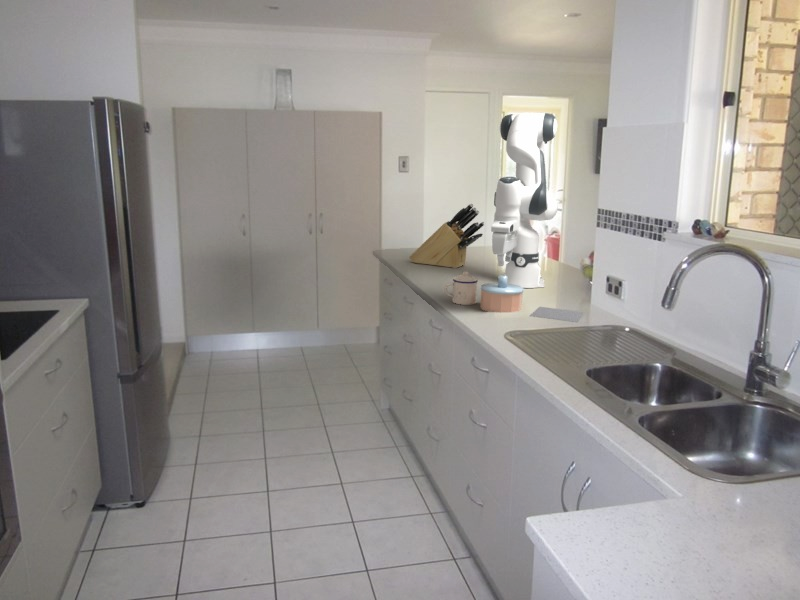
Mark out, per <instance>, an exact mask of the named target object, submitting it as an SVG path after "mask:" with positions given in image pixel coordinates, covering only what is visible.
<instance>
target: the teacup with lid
mask: <svg viewBox="0 0 800 600" xmlns="http://www.w3.org/2000/svg"><path fill="white" fill-rule="evenodd" d="M452 281H453V282H448V283H447V284H446V285H445V286H444V291H445V294H446V295H447V296H449V297H452V303H453V302H454V304H455V303H456V305H460V304H461V305H460V306H462V305H463V306H471V305H475V304H476V303H477V285H478V279H477V278H476V277H474V276H472V275H471V274H469V271H465V270H464V271H462V273H461V274H459V275H458V276H454V277H453V278H452ZM450 286H452V287H453V288H452V294H450V293H449V292H448V287H450Z"/></svg>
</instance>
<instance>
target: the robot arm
mask: <svg viewBox="0 0 800 600" xmlns="http://www.w3.org/2000/svg"><path fill="white" fill-rule="evenodd" d="M557 131H558V122H557V119H556V116H555V115H554V114H552V113H547V112H545V113H542V112H541V113H538V112H520V113H517V114H515V113H514V114H513V113H512V114H511V113H510V114H507V115H505V116H504V117H502V119H501V122H500V125H499V133H500V137H501V138H502V139H503V141H505V145H506V146H505V150H506V154H507V156H508V157H509V159H511V160H512V161H513V162H515V163H516V164H515V176H503V177H500V178H499V179H498V181H497V184H496V186H497V187H496V189H495V190H496V191H495V192H494V195H493V196H494V201H493V205H494V207H495V212H494V216H493V217H494V218H493V222H492V224H491V227H490V229H491V230H490V231H491V233H492V238H491V240H492V241H491V242H492V245H491V247H492V253H493V255H496V259H497V266H498V267H504V265H505V268H504V269H505V270H504V275H505V276H508V278H507V284H514V285H518V286H521V287H523V288H524V289H536V288H545V279H544V278H542V277H543V276H542V275H541V266H540V263H539V261H540V254H539V244H540V243H539V242H540V235H539V233H538V232H537V230H535V228H533V227H532V225H531V223H530V221H536V222H537V221H539V222H540V221H542V222H543V221H550V220H553V219H554V218H555V216H556V215H557V213H558V211H559V210H558V207H559V205H558V201H557V199H556V198H555V197H554V196H553V195H552V193H551V192H550V191H549V190H548V187H547V176H546V175H547V174H546V162H545V145H546V144H548V142H550V141H552V140H553V139H554V138H555V136H556V134H557ZM544 144H545V145H544ZM521 184H522V185H521ZM505 262H506V263H505Z"/></svg>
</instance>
